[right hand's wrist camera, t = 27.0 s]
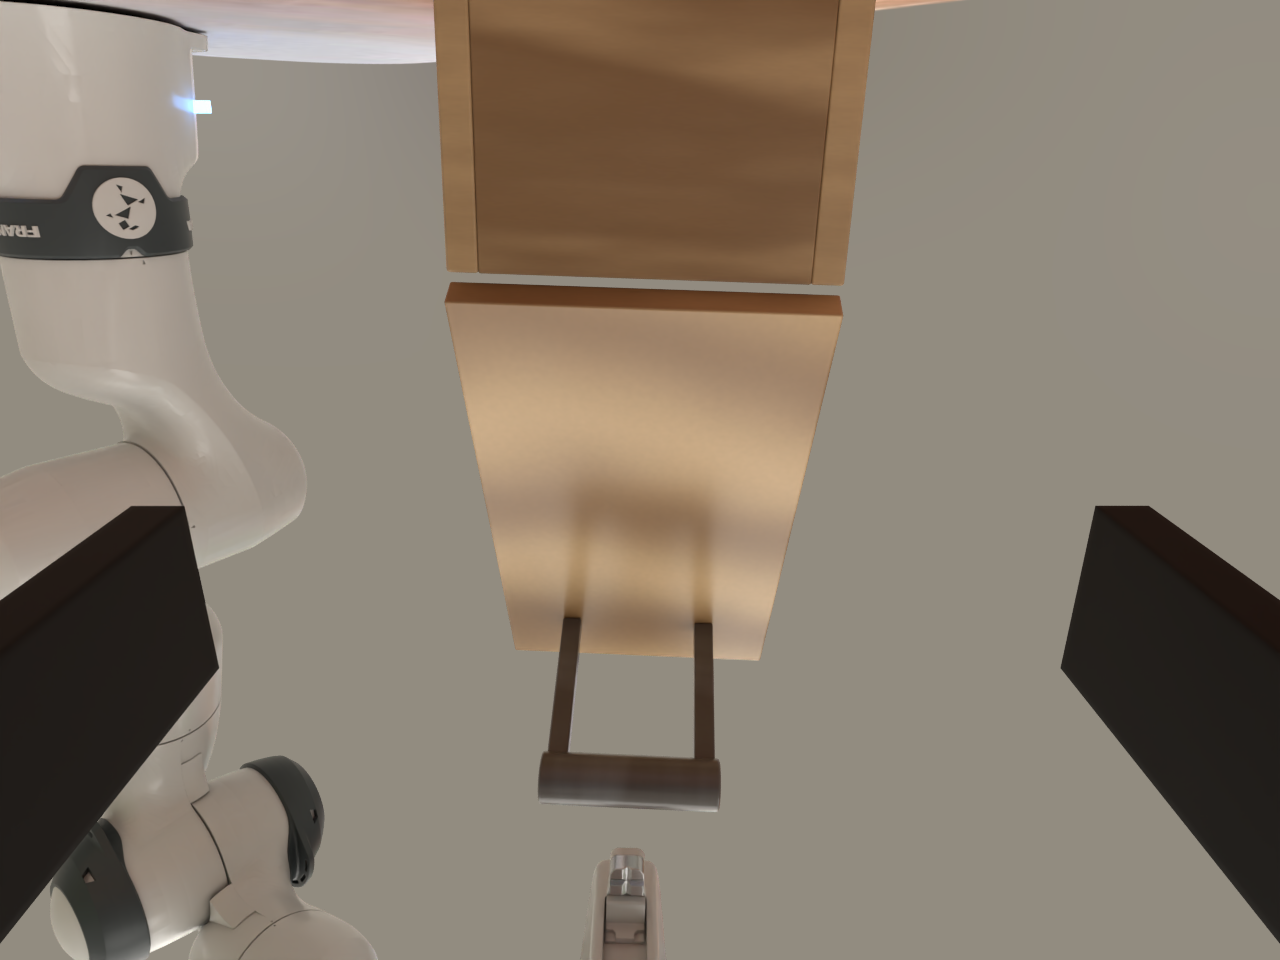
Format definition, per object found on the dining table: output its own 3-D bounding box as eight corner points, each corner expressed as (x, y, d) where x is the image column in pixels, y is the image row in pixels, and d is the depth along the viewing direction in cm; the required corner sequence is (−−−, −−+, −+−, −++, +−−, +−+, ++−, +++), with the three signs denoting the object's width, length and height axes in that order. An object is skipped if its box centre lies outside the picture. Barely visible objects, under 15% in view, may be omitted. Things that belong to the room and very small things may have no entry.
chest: (791, -38, 33) (769, 231, 37) (538, -45, 34) (540, 224, 37) (900, -213, 18) (844, 286, 21) (421, -224, 18) (446, 272, 21)
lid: (759, 643, 35) (769, 837, 30) (518, 632, 35) (488, 824, 30) (840, 294, 22) (883, 542, 17) (449, 281, 22) (376, 522, 17)
